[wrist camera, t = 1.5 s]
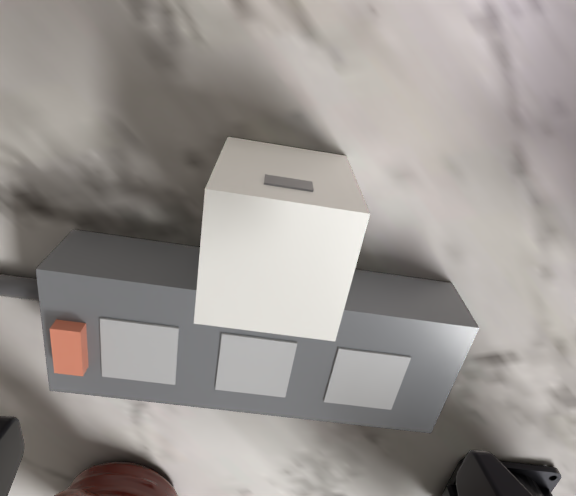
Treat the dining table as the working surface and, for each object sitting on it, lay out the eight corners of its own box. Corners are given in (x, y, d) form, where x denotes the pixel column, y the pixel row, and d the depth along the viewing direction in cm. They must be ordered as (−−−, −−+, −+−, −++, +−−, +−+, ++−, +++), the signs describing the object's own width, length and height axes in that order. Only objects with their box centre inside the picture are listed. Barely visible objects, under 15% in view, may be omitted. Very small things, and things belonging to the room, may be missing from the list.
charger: (346, 154, 19) (371, 211, 14) (312, 299, 22) (321, 390, 17) (227, 134, 18) (205, 186, 13) (212, 285, 22) (189, 374, 17)
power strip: (451, 282, 22) (484, 337, 18) (412, 380, 25) (434, 443, 21) (-54, 211, 20) (-129, 256, 16) (-30, 326, 23) (-89, 386, 19)
